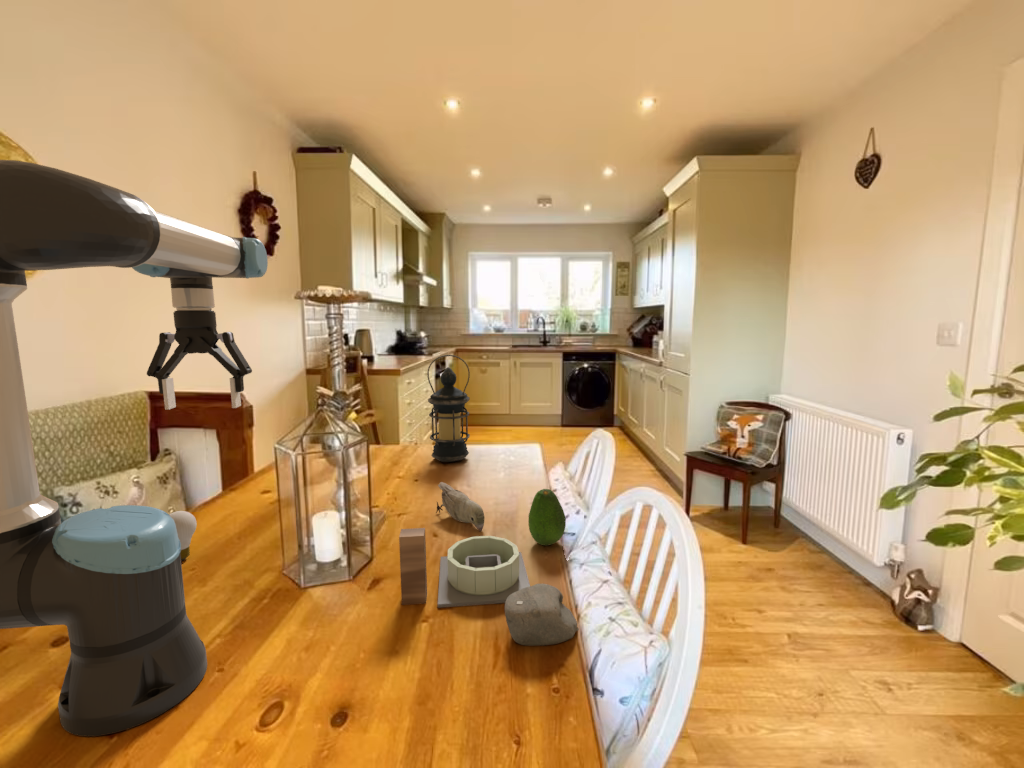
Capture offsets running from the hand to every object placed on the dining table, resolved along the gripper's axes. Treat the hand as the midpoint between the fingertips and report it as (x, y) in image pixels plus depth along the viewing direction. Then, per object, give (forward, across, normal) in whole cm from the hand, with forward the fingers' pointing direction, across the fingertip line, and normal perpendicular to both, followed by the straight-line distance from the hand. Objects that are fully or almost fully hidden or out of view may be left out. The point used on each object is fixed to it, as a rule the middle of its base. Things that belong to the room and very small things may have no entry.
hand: (203, 407), depth 106 cm
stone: (+28, -67, +44) cm, 85 cm away
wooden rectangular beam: (+28, -47, +33) cm, 64 cm away
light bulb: (+28, 0, +14) cm, 32 cm away
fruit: (+28, -73, +16) cm, 80 cm away
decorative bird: (+28, -55, +2) cm, 62 cm away
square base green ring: (+28, -59, +28) cm, 71 cm away
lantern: (+28, -52, -47) cm, 76 cm away
